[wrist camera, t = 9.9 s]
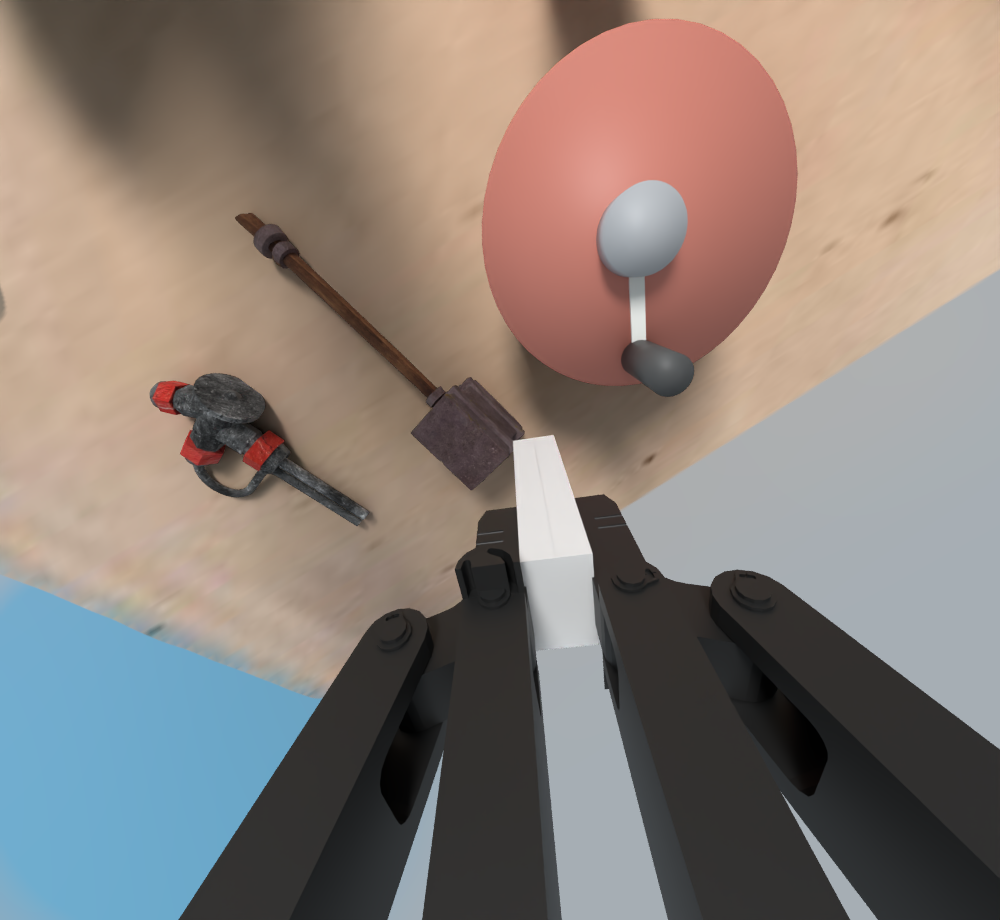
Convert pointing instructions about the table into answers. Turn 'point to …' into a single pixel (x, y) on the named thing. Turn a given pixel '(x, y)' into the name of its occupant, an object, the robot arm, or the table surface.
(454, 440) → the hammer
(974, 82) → the table surface
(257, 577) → the table surface
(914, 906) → the robot arm
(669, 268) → the handwheel
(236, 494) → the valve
